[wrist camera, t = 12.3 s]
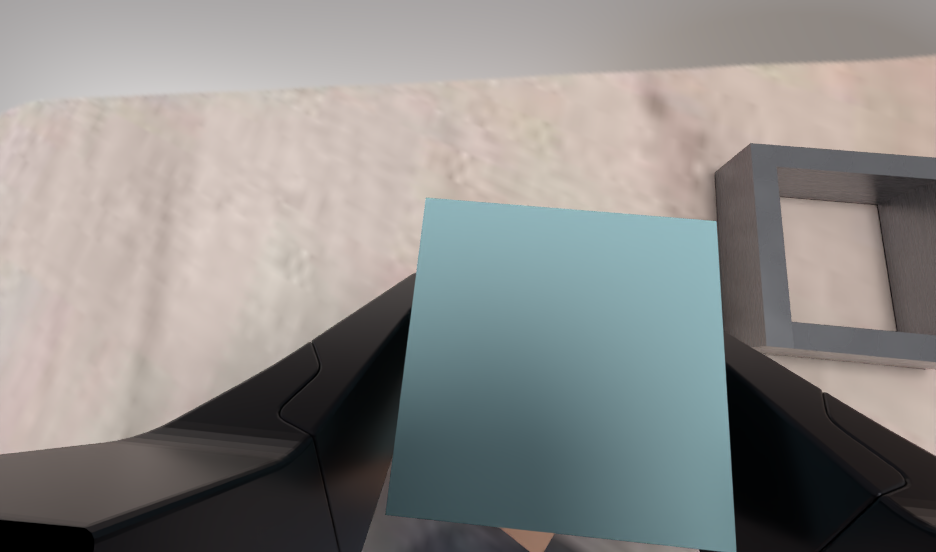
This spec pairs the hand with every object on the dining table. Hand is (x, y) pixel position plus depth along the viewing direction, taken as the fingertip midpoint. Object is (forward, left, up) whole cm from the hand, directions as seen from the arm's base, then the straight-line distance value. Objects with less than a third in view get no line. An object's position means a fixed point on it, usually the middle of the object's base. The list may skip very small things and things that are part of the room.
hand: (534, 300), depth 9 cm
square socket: (+11, -10, -9) cm, 17 cm away
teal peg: (-1, -1, -7) cm, 7 cm away
